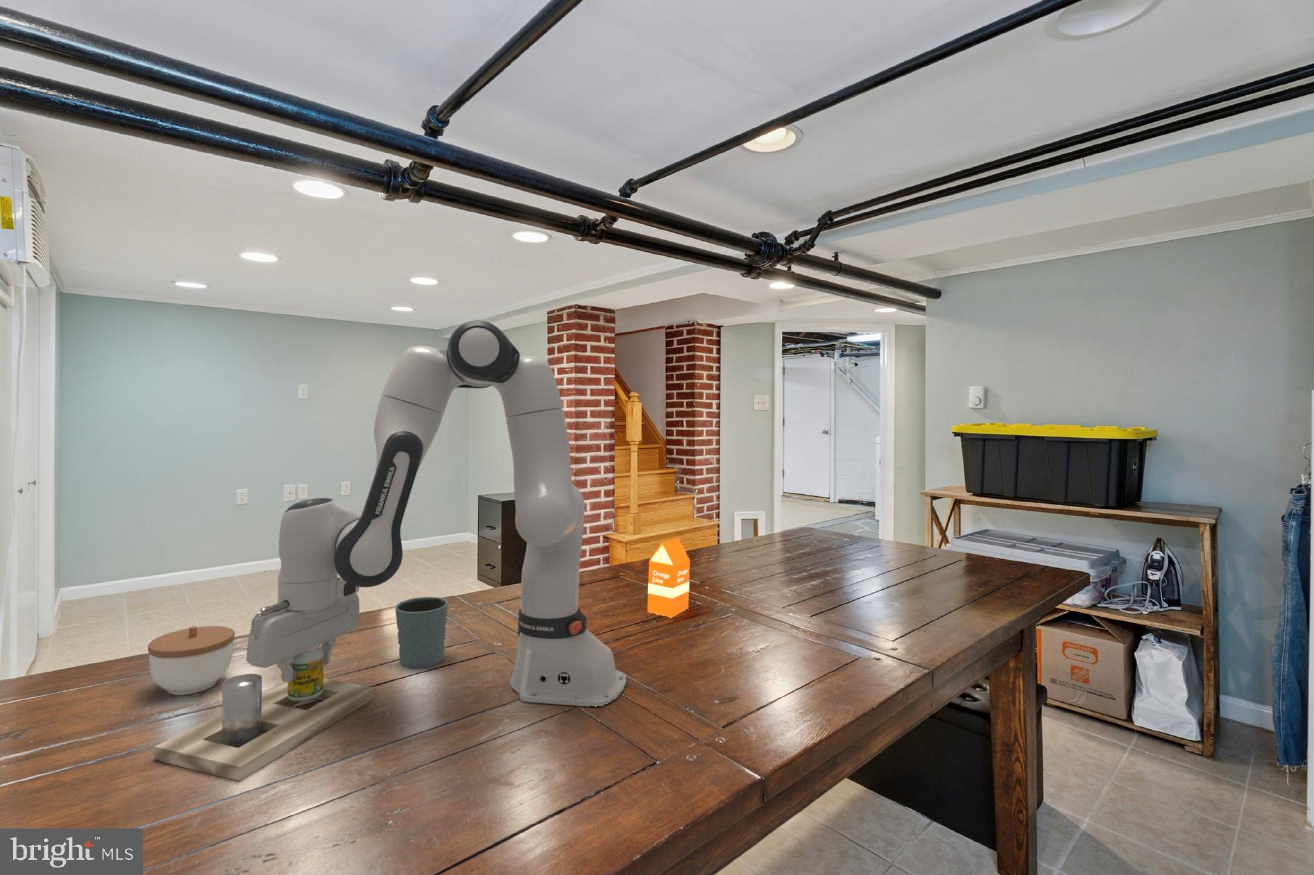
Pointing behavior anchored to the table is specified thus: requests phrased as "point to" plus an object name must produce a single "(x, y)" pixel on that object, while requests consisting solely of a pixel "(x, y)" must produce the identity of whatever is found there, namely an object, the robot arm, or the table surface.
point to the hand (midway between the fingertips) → (306, 672)
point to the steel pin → (241, 709)
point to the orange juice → (668, 579)
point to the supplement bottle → (307, 674)
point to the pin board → (263, 732)
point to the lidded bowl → (191, 658)
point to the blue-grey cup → (421, 631)
